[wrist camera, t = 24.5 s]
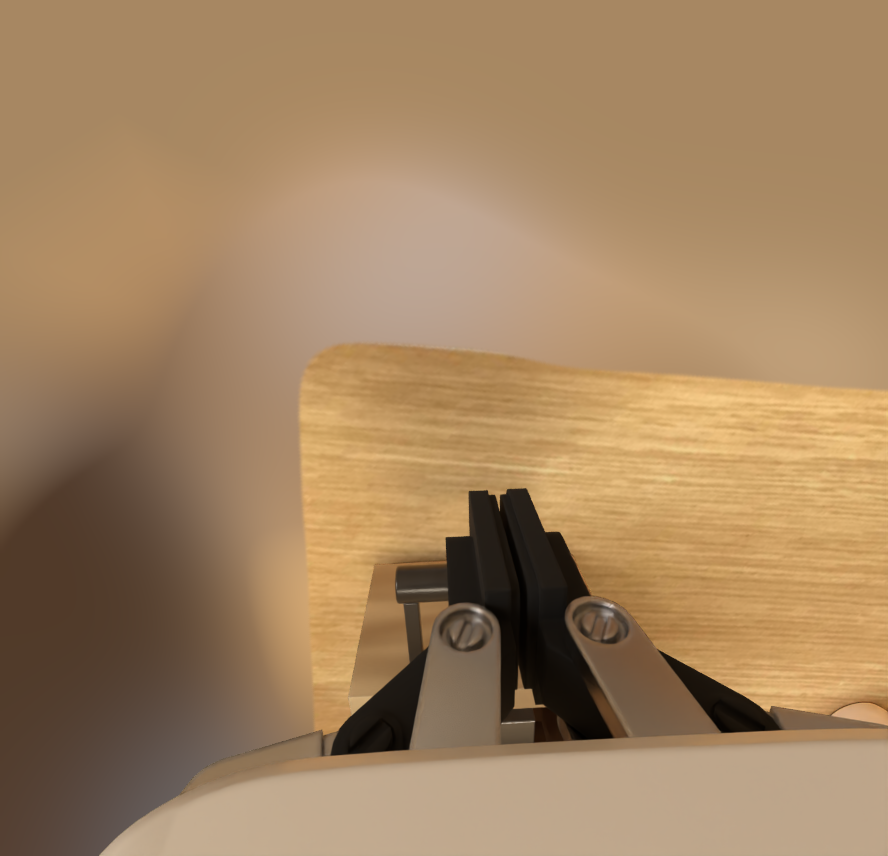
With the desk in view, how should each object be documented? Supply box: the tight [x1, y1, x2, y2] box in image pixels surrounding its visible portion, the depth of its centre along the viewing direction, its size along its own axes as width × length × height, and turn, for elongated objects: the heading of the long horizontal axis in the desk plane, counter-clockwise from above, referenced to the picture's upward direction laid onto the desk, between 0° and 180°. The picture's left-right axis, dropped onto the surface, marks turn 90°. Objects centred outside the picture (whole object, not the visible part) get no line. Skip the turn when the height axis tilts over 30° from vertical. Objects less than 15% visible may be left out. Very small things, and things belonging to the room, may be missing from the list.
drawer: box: [348, 554, 592, 743], centre depth 21 cm, size 18×11×8 cm, turn 3°
